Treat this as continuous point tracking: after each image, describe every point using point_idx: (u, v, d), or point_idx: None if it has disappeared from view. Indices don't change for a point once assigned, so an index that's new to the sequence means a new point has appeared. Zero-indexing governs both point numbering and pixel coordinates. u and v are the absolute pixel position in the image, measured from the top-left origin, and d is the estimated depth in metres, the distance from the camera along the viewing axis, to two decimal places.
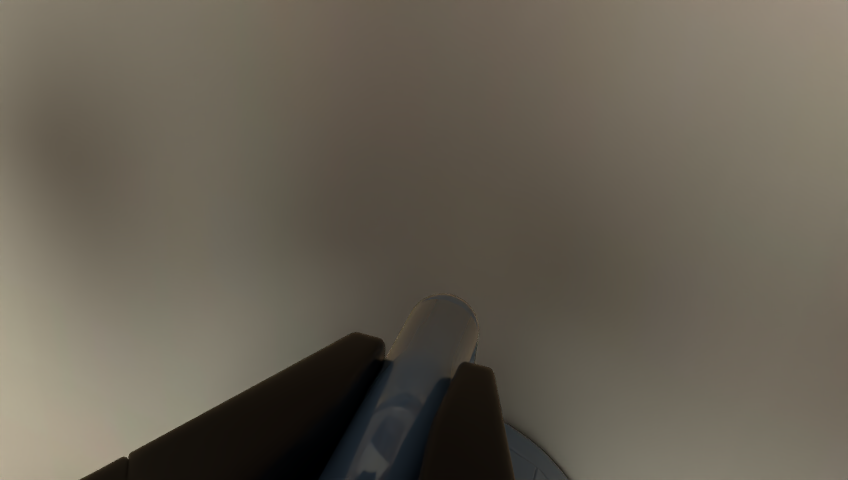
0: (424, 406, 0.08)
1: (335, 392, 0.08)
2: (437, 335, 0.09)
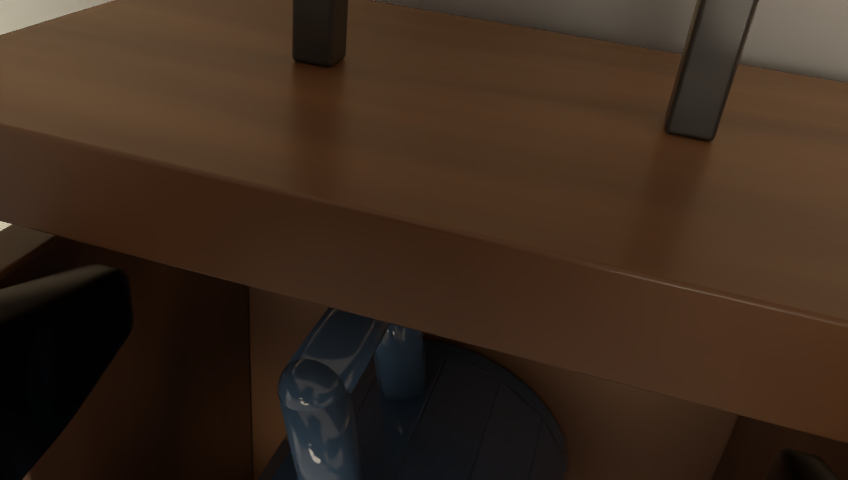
0: None
1: (40, 307, 0.09)
2: None
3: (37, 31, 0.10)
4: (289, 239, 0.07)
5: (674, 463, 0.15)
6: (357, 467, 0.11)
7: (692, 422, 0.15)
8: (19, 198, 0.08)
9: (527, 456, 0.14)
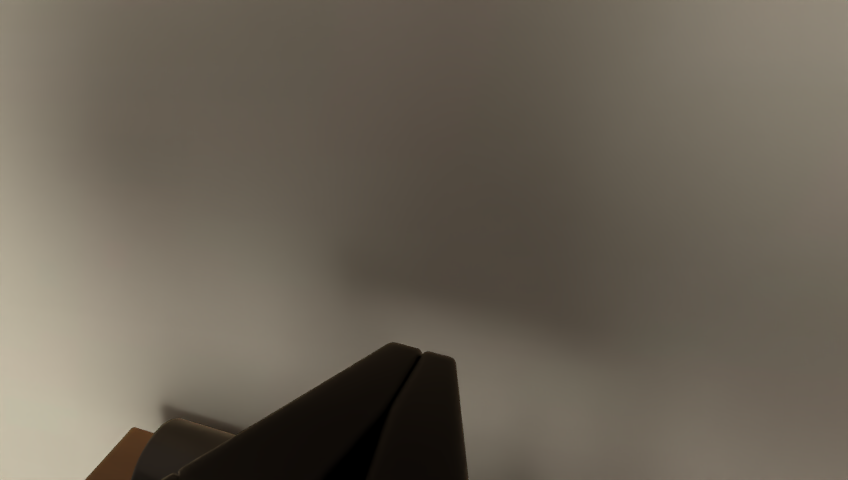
0: None
1: (378, 405, 0.08)
2: None
3: None
4: None
5: None
6: None
7: None
8: None
9: None
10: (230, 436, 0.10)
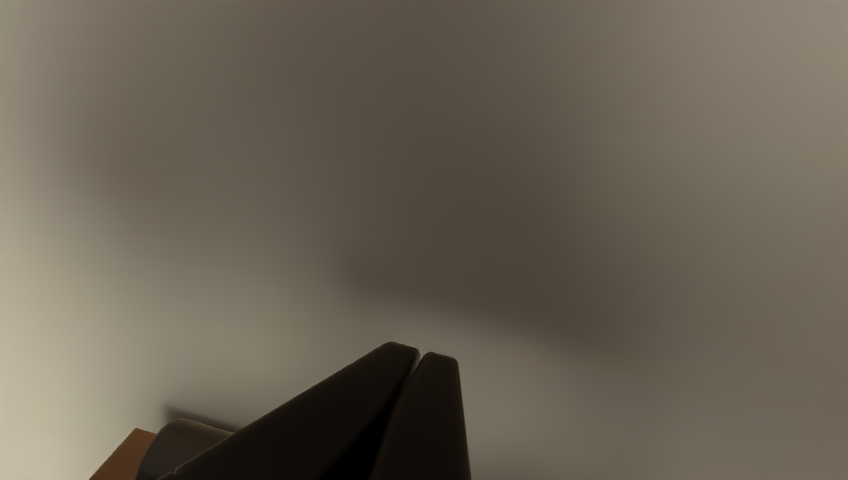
0: None
1: (375, 404, 0.08)
2: None
3: None
4: None
5: None
6: None
7: None
8: None
9: None
10: None
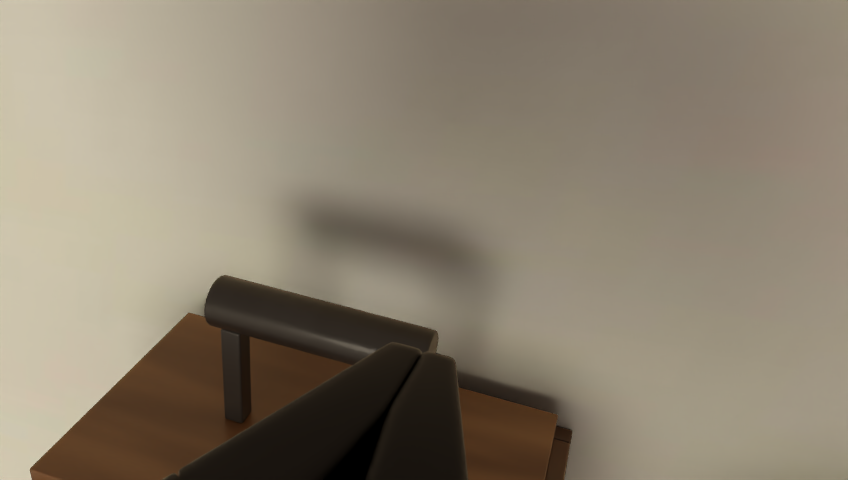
0: None
1: (378, 405, 0.08)
2: None
3: (105, 404, 0.22)
4: None
5: None
6: None
7: None
8: None
9: None
10: (253, 282, 0.20)
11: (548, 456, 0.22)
